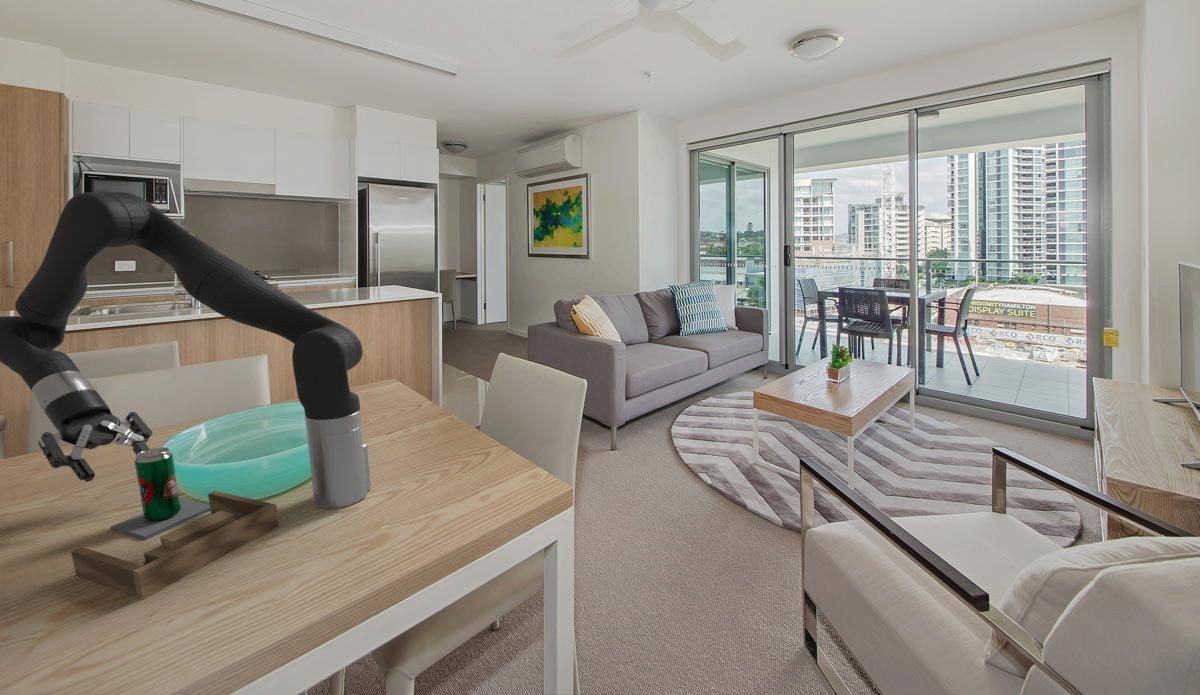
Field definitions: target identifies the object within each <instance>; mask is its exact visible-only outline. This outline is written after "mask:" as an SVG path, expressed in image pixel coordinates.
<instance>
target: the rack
mask: <svg viewBox="0 0 1200 695" xmlns="http://www.w3.org/2000/svg"><path fill="white" fill-rule="evenodd" d="M207 495H208V503H209V505H210V509H211V510H210V515H212V514H214V513H216V512H219V511H221V510H222V511H225V512H228V513H231V514H234V516H235V521H234V522H232V523H230V524H228V525H226V526H224V527H222V528H220V529H218V530H216V531H214V532H212V533H210V534H208V535H205V536H203V537H201V538H199V539H197V540H195V541H193V542H191V543H189V544H187V545H185V546H183V547H181V548H179V549H177V550H175V551H173V552H171V553H169V554H167V555H164V556H162V557H160V558H158V559H156V560H154V561H152V562H150V563H148V564H146V565H144V566H143V565H141V564H138V563H135V562H131V561H128V560H125V559H122V558H118V557H115V556H112V555H109V554H107V553H103V552H100V551H96V550H93V549H90V548H88V547H84V546H80V547H77V548H75V549H72V550H70V553H71V558H72V563H73V569H74V573H75V576H76V577H79V578H81V579H85V580H88V581H89V582H94V583H95V584H97V585H98V584H99V585H102V586H104V587H107V588H109V589H113V590H115V591H118V592H121V593H124V594H128V595H131V596H134V597H137V598H139V599H142V600H144V599H146V598H148V597H150V596H152V595H153V594H156V593H157V592H159V591H162V590H163V589H164V588H166V587H168V586H170V585H172V584H174V583H176V582H178V581H179V580H182V579H183V578H185V577H187V576H189V575H190V574H192V573H194V572H196V571H198V570H200V569H201V568H203V567H205V566H207V565H209V564H211V563H213V562H215V561H216V560H218V559H220V558H222V557H224V556H225V555H228V554H229V553H231V552H234V551H235V550H237V549H239V548H241V547H243V546H244V545H246V544H249V543H250V542H252V541H253V540H255V539H257V538H259V537H261V536H263V535H264V534H267V533H268V532H270V531H272V530H275V529H276V528H278V527H279V526H280V524H279V517H278V507H277V506H278V505H277V504H275V503H271V502H267V501H262V500H257V499H253V498H249V497H245V496H241V495H235V494H231V493H227V492H222V491H217V490H214V491H211V492H209V493H207Z"/></svg>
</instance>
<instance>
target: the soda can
mask: <svg viewBox="0 0 1200 695" xmlns="http://www.w3.org/2000/svg"><path fill="white" fill-rule="evenodd" d="M135 455H136V454H135ZM173 456H174V455H173V453H172V452H171V451H170V449H169V447H154V448H153V447H152V448H149V449H148V450H145V451H142V452H140V453H138V454H137V455H136V456H135V457H136V458H135V460H134V466H135V467H134V468H135V472H136V473H135V474H136V478H137V484H138V485H137V486H138V492H139V497H140V503H141V508H142V514H143V515H144V518H145V519H146V520H148V521H161V520H165V519H168V518H171V517H173V516H175V515H176V514H177V513H178V512H179V511H180V509H181V505H180V494H179V493H180V492H179V487H178V480H177V475H176V467H175V462H174V457H173Z"/></svg>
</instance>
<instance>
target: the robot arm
mask: <svg viewBox="0 0 1200 695" xmlns="http://www.w3.org/2000/svg"><path fill="white" fill-rule="evenodd" d="M49 242H50V243H49V245H48V247H47V250H46V252H45V256H44V258H43V260H42V262H41V264H40V266H39V268H38V269H37V271H36V273H35V274H34V275H33V277H32V279H31V280H30V281H29V282H28V283H27V285H26V286H25V288H24V289H23V291H21V293H20V294H19V296H18V297H17V299H16V301H15V304H14V307H15V311H16V312H17V314H18V315H11V316H10V315H8V316H7V315H5V316H0V363H2V364H3V365H5V366H6V367H7V368H8V369H10V370H11V371H13V372H14V373H16V374H18V375H19V376H20V377H21V378H22V380H23V381H24V383H25V384H26V385H27V387H28V388H29V389H30V391H31V392H32V394H33V396H34V397H35V401H36V403H37V404H38V405H39V408H40V409H41V410H42V411H43V412H44V413H45V415H46V417H47V418H48V419H49V421H50V422H51V423H52V425H53V426H54V427H55V429H56V430H57V431H58V432H57V433H51V432H49V431H45V432H43V433H42V434H41V437H40V438H39V441H38V443H37V444H38V446H39V447H40V449H41V451H42V452H43V455H44V456H45V458H46V460H47V462H48V463H49V465H50V466H51V468H53V469H58V468H60V467H69V468H70V469H71V470H72V472H74V474H75V475H76V477H77V479H79V480H80V481H84V482H85V483H89V482H91V481H93V480H94V478H95V477H96V473H95V472H94V470H93V469H92V468H91V466H90V465H89V463H88V462H87V460H86V459H85V458H84V457H82V455H83V452H84V449H88V450H92V449H95V448H98V447H99V446H107V445H110V444H111V443H113V444H116V445H119V446H122V445H124V446H127V447H130V448H132V452H134V454H135V455H137V454H138V453H140V452H142V451H145V450H148V449H150V448H149V446H148V445H147V443H148V441H149V440H150V438H151V436H152V435H153V434H154V433H153V431H152V430H151V428H150V427H149V426H148V425H147V424H146V423H145V421H143V419H142V418H141V417H140V415H139V414H138V413H137V412H135V411H131V412H129V413H128V415H124V416H121V417H118V416H115V415H114V414H112V413H113V412H111V411H112V410H111V408H110V407H109V406H108V404H106V402H105V400H104V399H103V398H102V397H101V395H100V394H99V393H98V391H97V390H96V388H95V387H94V385H93V384H92V383H91V382H90V381H89V379H88V378H87V377H85V376H84V375H83V373H82V372H81V371H80V370H79V368H78V367H77V365H76V364H75V363H74V361H73V360H72V358H71V357H70V356H69V355H68V354H66V353H65V352H62V351H59V350H55V349H57V348H58V347H59V346H61V345H62V343H63V342H64V339H65V333H66V327H67V324H68V320H69V316H70V315H71V314H72V313H73V311H74V310H75V309H76V307H78V306H79V304H80V303H81V301H82V300H83V298H84V297H85V295H86V293H87V290H88V277H87V274H86V273H87V272H86V269H87V266H88V264H89V262H90V261H91V260H93V258H95V257H96V255H98V254H99V253H100V252H101V251H103V250H104V249H107V248H117V247H118V248H119V247H126V246H127V247H128V246H134V247H135V246H136V247H138V248H141V249H143V250H146V251H147V252H149V253H151V254H153V255H155V256H156V257H158V258H160V259H161V260H163V261H165V262H166V263H167V264H169V266H171V268H172V269H173V271H174V273H175V275H176V276H177V278H178V280H179V282H180V284H181V286H182V287H183V288H184V289H185V291H186V293H187V294H188V295H190V296H191V297H192V298H193V299H195V300H196V301H198V302H199V303H201V304H202V305H204V306H206V307H207V308H209V309H211V310H212V311H214V312H216V313H217V314H219V315H221V316H222V317H225V318H227V319H229V320H231V321H234V322H237V323H239V324H243V325H245V326H246V325H247V326H249V327H252V328H256V329H258V330H262V331H266V332H269V333H272V334H274V335H278V336H280V337H282V338H284V339H285V340H286V341H289V342H290V343H293V348H292V355H291V356H292V368H293V374H294V375H293V376H294V381H295V389H296V392H297V398H298V400H299V402H300V404H301V406H302V407H303V409H304V419H305V427H306V428H305V429H306V436H307V437H306V438H307V445H308V446H307V447H308V456H309V465H310V467H309V468H310V476H311V483H312V484H311V485H312V494H313V503H314V505H315V506H316V507H317V508H323V509H337V508H344V507H346V506H350V505H353V504H356V503H357V502H360V501H361V500H363V499H364V498H366V496H367V493H368V492H369V491H371V490H372V487H371V486H372V485H371V474H370V463H369V453H368V452H369V451H368V449H369V448H368V445H367V444H366V443H364V439H363V437H364V436H363V425H362V417H361V416H362V415H361V406H360V405H361V403H360V397H359V395H358V394H356V393H355V392H354V391H353V392H352V391H351V389H350V384H349V377H348V371H351V370H352V369H353V368H354V367H356V366H357V365H358V364H360V361H361V360H362V358H363V353H364V350H363V346H362V342H361V340H360V338H359V337H358V336H357V335H356V334H355V333H354V331H352V330H351V329H349V328H348V327H346V326H344V325H343V324H342V323H341V324H340V323H338V322H336V321H334V320H332V319H330V318H328V317H327V316H324V315H322V314H320V313H318V312H317V311H314V310H312V309H310V308H309V307H307V306H305V305H303V304H301V302H298V301H297V300H296V299H295V298H292V297H291V296H289V295H288V294H286V293H285V292H283V291H282V290H280V289H279V288H277V287H275V286H274V285H273V284H271V283H269V282H267V281H266V280H264V279H263V278H262V277H260V276H258V274H256V273H254V272H253V271H251V270H250V269H248V268H246V267H245V266H244V265H242V264H241V263H238V262H237V261H235V260H233V259H232V258H230V257H229V256H226V255H225V254H223V253H221V252H220V251H218V250H217V249H215V248H213V247H212V246H211V245H209V244H207V243H206V242H205V241H203V240H201V239H200V238H198V237H196V236H195V235H193V234H191V233H190V232H189V231H187V230H185V228H183V227H182V226H180V224H178V223H177V222H175V221H174V220H173V219H171V218H170V217H169V216H168V215H166V214H165V213H164V212H163V211H162V210H160V209H158V208H157V207H156V206H154V205H153V204H152V203H150V202H149V201H147V199H144V198H143V197H140V196H139V195H136V194H133V193H129V192H122V191H93V192H92V191H89V192H82V193H81V192H80V193H78V194H75V195H73V196H72V197H71V198H70V199H69V200H68V201H67V202H66V205H64V207H63V210H62V211H61V213H60V216H59V218H58V220H57V224H56V227H55V228H54V232H53V234H52V237H51V239H50V241H49ZM121 425H123V426H125V427H123V426H121ZM128 428H129V429H128ZM118 434H119V435H120V436H118ZM61 441H62V442H65V443H68V444H71V445H73V447H72V449H71V452H70V455H65V453H64V452H63V450H62V448H61V447H60V445H59V443H60V442H61ZM81 457H82V458H81Z"/></svg>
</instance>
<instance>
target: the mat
mask: <svg viewBox="0 0 1200 695" xmlns="http://www.w3.org/2000/svg"><path fill="white" fill-rule="evenodd" d="M179 499H180V505H181V509H180V511H179V512H178V513H177V514H176V515H175V516H173V517H171V518H168V519H165V520H161V521H148V520H146V519H145V518H144V515H143V513H140V514H138V515H135V516H133V517H130V518H129V519H126V520H123V521H121V522H120V521H119V522H118V523H116V524H113V525H111V526H110V530H111V531H114V532H118V533H121V534H123V535H124V534H125V535H128V536H131V537H134V538H135V537H136V538H138V539H142V540H148V539H150V538H152V537H154V536H157V535H159V534H161V533H164V532H165V531H167V530H171V529H173V528H174V527H176V526H179V525H181V524H184V523H186V522H188V521H190V520H193V519H194V518H196V517H199V516H201V515H204V514H205V513H207V512H208V513H209V512H211V509H210V504H208V503H204V502H199V501H195V500H190V499H186V498H182V497H179Z"/></svg>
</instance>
